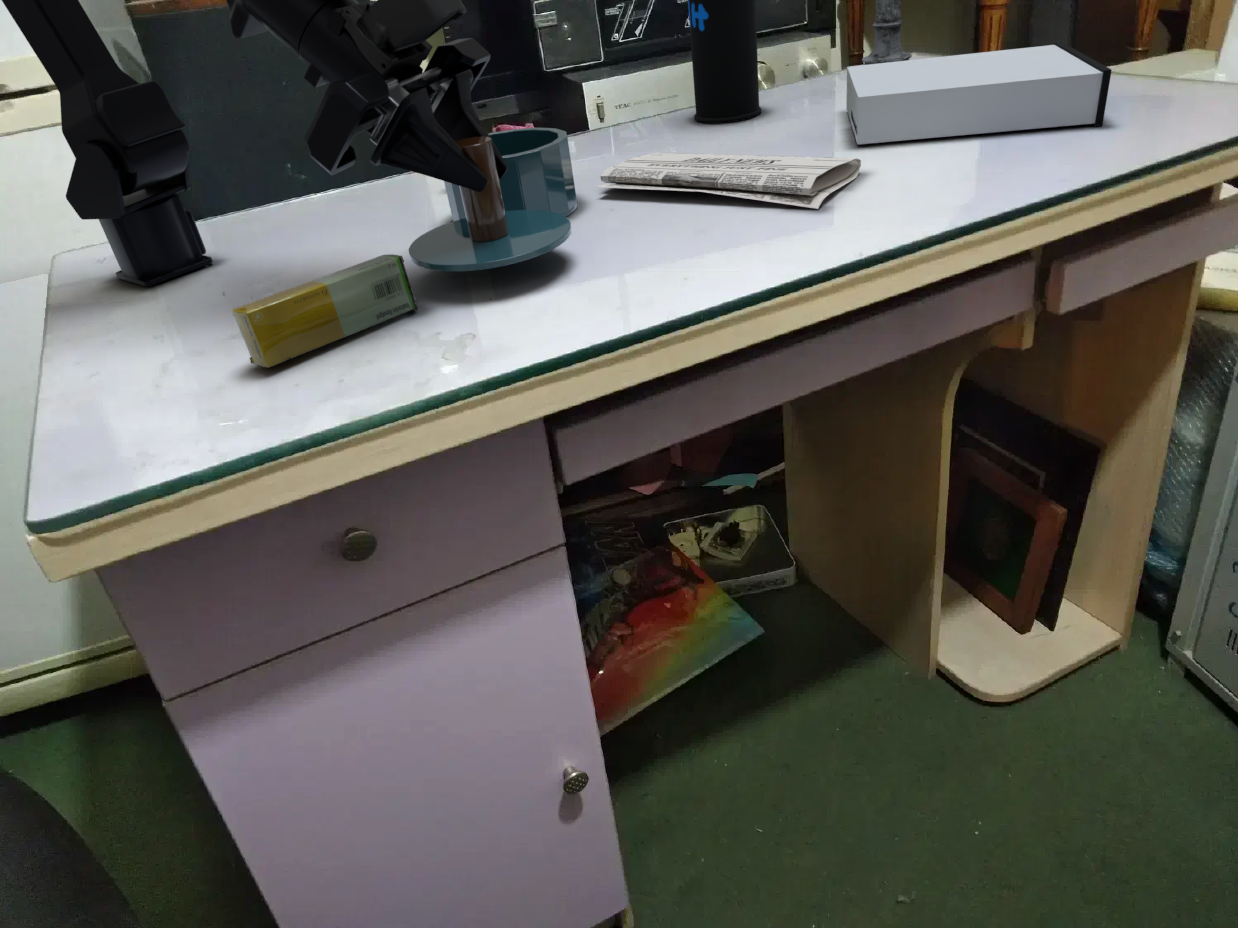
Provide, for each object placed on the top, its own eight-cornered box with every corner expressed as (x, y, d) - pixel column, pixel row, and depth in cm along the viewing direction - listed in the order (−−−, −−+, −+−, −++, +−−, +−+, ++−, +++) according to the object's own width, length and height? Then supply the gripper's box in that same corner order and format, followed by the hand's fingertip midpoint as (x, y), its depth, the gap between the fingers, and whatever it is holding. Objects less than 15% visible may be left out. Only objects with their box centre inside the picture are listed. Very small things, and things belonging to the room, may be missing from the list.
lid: (432, 293, 61) (403, 176, 57) (397, 248, 71) (370, 145, 67) (597, 250, 64) (582, 136, 60) (541, 213, 74) (524, 113, 70)
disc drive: (1103, 126, 82) (1113, 68, 80) (857, 147, 87) (858, 94, 84) (1055, 90, 97) (1061, 41, 94) (846, 111, 101) (846, 64, 98)
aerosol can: (761, 105, 109) (755, -81, 99) (761, 119, 103) (754, -79, 92) (696, 112, 111) (683, -71, 100) (691, 126, 104) (677, -68, 94)
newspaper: (590, 198, 83) (588, 170, 82) (661, 175, 92) (660, 150, 90) (810, 212, 71) (811, 180, 69) (869, 185, 79) (870, 156, 78)
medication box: (401, 305, 65) (385, 252, 63) (421, 308, 63) (405, 254, 61) (250, 364, 58) (227, 307, 56) (267, 370, 56) (244, 311, 55)
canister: (515, 240, 75) (501, 164, 71) (429, 227, 82) (412, 157, 78) (602, 200, 82) (592, 129, 79) (516, 191, 89) (504, 126, 85)
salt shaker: (902, 93, 106) (907, -20, 99) (854, 94, 108) (856, -15, 102) (916, 82, 110) (921, -26, 103) (869, 84, 112) (872, -22, 106)
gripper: (285, -65, 50) (494, 126, 52) (440, -82, 65) (599, 68, 67) (226, 90, 57) (413, 253, 59) (379, 43, 71) (524, 175, 74)
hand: (495, 180), depth 64 cm, fingers closed on lid, 3 cm apart
